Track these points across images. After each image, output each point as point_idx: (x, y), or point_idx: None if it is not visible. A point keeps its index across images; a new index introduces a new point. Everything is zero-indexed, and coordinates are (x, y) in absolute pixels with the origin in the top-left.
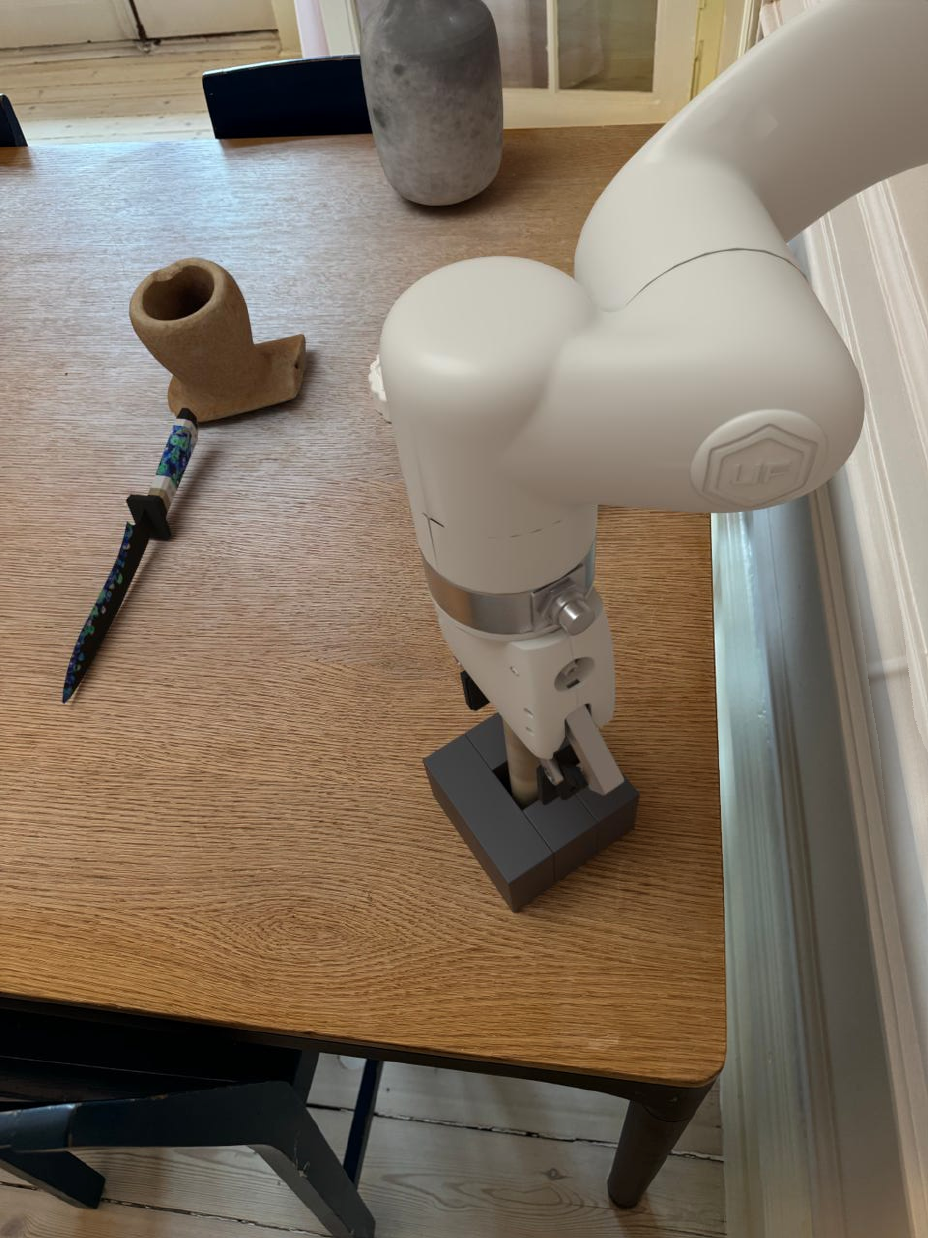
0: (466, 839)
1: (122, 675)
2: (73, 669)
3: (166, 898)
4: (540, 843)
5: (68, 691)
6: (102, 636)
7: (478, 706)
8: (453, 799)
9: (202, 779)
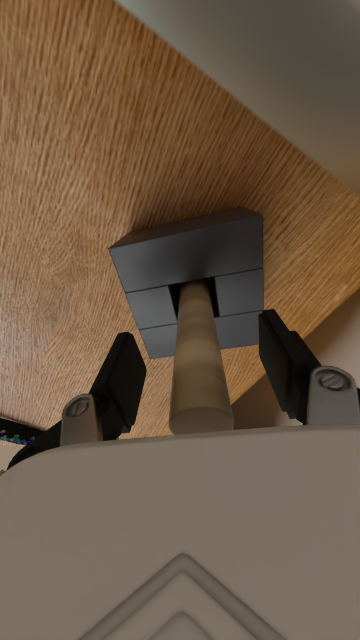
0: None
1: (44, 420)
2: None
3: (162, 423)
4: (250, 315)
5: None
6: (20, 426)
7: (144, 369)
8: None
9: None
